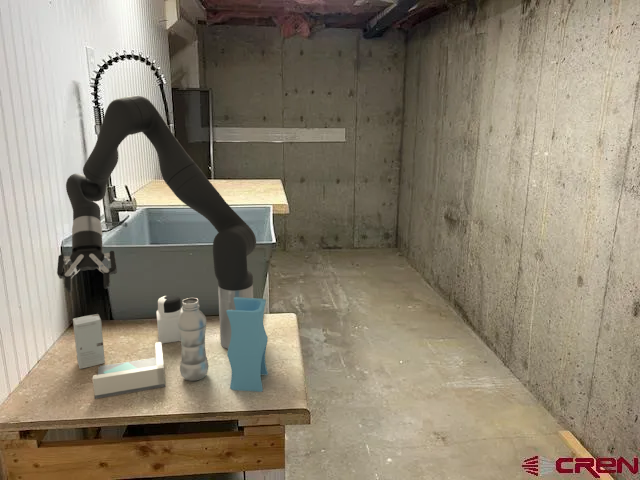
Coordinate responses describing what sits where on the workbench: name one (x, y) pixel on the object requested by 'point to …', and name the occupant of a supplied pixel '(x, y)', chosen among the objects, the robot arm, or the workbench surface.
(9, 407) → the workbench surface
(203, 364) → the plastic bottle
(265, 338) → the vase
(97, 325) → the skincare box
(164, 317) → the medicine bottle
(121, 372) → the corner arena
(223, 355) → the workbench surface
